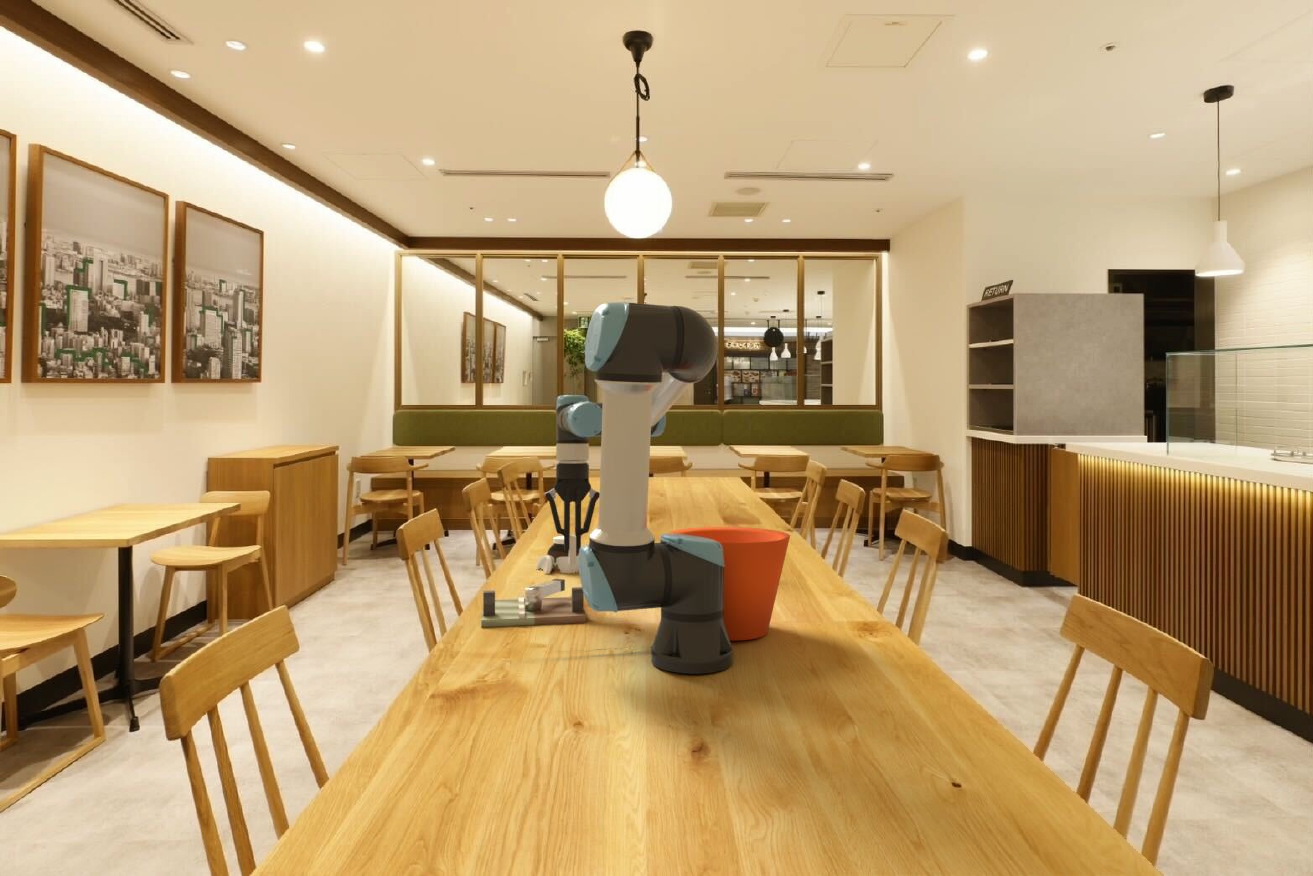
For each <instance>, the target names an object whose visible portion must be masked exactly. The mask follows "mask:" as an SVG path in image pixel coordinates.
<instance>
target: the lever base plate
mask: <svg viewBox="0 0 1313 876" xmlns="http://www.w3.org/2000/svg"><path fill="white" fill-rule="evenodd" d="M482 594H483V599H482V600H483V601H482V603H483V606H482V607H483V608H482V614H481V619H480V623H481V624H480V626H481V628H491V627H492V628H493V627H494V628H496V627H511V626H512V627H516V626H537V625H538V626H539V625H540V626H541V625H556V624H557V625H558V624H559V625H560V624H580V623H581V624H582V623H587V613H586V611H585V608H584V599H585V596H584V593H583V589H582V586H581V587H579V586H577V587H575V586H574V587H571V596H565V597H543V598H542V609H541V610H536V611H529V610H526V609H525V596H524V595H525V594H518V598H516V599H515V598H514V599H513V598H512V599H509V598H508V599H496V590H495V589H494V590H483V593H482Z"/></svg>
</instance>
